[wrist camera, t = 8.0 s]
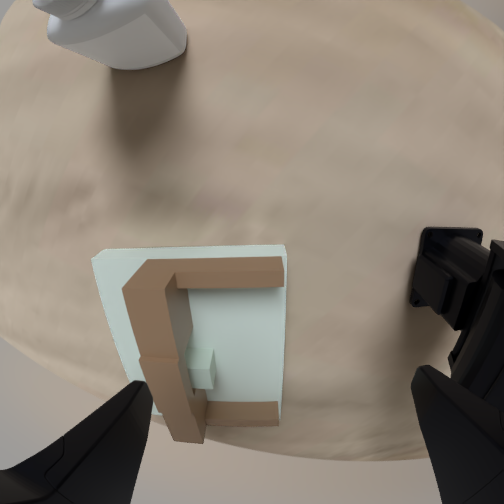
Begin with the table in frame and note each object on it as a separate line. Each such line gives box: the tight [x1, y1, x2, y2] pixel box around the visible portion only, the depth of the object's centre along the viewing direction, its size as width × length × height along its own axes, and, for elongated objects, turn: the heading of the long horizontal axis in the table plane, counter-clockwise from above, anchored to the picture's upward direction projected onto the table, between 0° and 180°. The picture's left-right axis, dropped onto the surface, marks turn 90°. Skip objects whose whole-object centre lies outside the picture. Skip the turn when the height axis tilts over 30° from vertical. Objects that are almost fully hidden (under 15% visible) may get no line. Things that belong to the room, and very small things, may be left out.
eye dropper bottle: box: [32, 0, 187, 70], centre depth 9 cm, size 4×6×12 cm
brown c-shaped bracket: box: [121, 256, 284, 444], centre depth 18 cm, size 8×14×4 cm, turn 2°
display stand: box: [91, 244, 287, 420], centre depth 20 cm, size 13×16×4 cm
